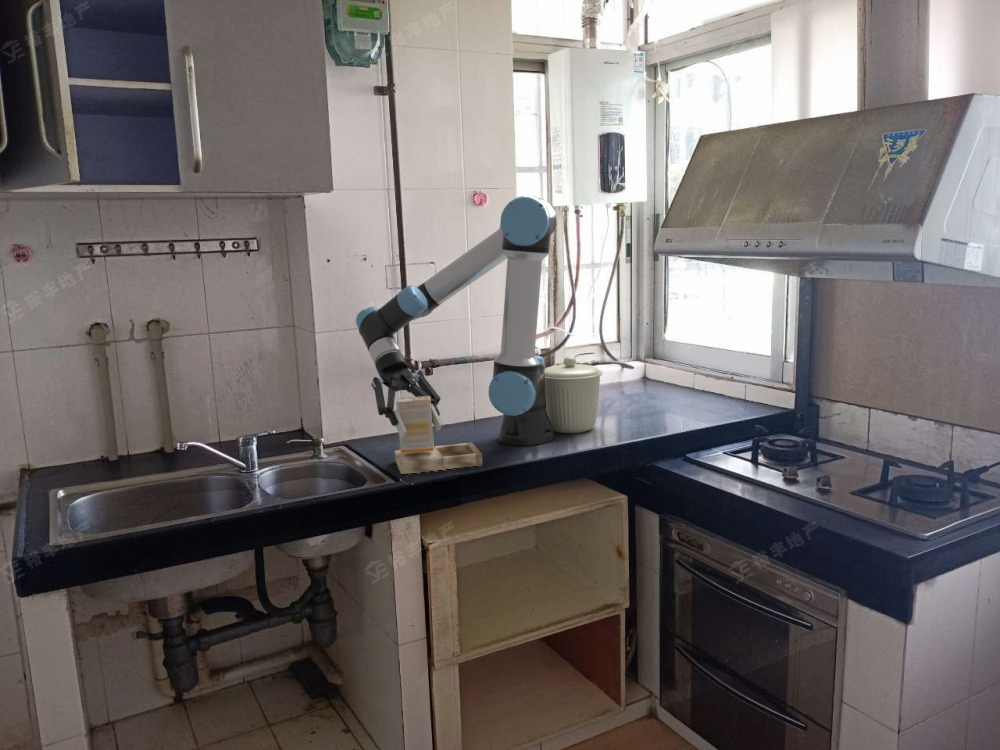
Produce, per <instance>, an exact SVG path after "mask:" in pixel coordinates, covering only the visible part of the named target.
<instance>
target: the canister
mask: <svg viewBox="0 0 1000 750" xmlns="http://www.w3.org/2000/svg"><path fill="white" fill-rule="evenodd" d="M602 375H603V371H602V370H601V369H599V368H598V367H596V366H593V365H590V364H589V365H588V364H580V363H579V364H578V363H577V359H576V357H574V356H571V355H569V356H566V357H564V359H563V364H557V365H552V366H547V367H545V392H546V411H547V414H548V417H549V420H550V422H551V425H552V428H553V432H557V433H561V434H578V433H585V432H588V431H591V430H592V429H593V428H594V426H595V425H596V422H597V417H598V408H599V407H598V406H599V395H600V394H599V393H600V383H601V376H602Z"/></svg>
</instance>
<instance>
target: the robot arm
mask: <svg viewBox="0 0 1000 750" xmlns="http://www.w3.org/2000/svg"><path fill="white" fill-rule="evenodd" d="M499 223H500V224H499V227H498V229H497V230H496V231H494V232H493V233H492V234H490V235H489V236H487V237H486V238H484V239H483V240H482V241H480V242H479V243H478V244H476V245H475V246H473V247H472V248H471V249H469V250H468V251H467V252H465V253H463V254H462V255H461V256H459V257H458V258H456V259H455V260H453V261H452V262H451V263H449V264H448V265H447V266H445V267H444V268H442V269H440V270H439V271H438V272H437V273H435V274H434V275H432V276H431V277H429V279H426V281H424V282H423V283H421V284H420V285H418V286H417V287H416V286H415V285H413V284H409V285H407V286H406V287H405V288H403V289H402V290H400V291H398V293H397V294H396V295H395V296H393V297H392V298H391V299H390V300H389V301H387V302H386V303H385V304H384V305H383V306H382V307H380V308H379V307H378V306H368V307H367V308H366V309H365V308H364V309H362V310H361V311H359V312H358V314H357V315H356V317H355V323H356V327H357V330H358V332H359V335H360V337H361V339H362V341H363V342H364V343H363V344H365V346H366V348H367V351H368V353H369V356H370V358H371V360H372V362H373V364H374V366H375V369H376V371H377V373H378V376H379V378H378V377H376V376H374V377H373V378H372V380H371V381H372V382H371V385H370V386H371V387H372V388H373V390H374V395H375V401H376V405H377V406H376V407H377V413H378V415H379V416H383V415H384V416H385V418H387V419H389V421H390V425H392V427H394V426H395V428H396V431H397V432H398V436H399V435H400V437H401V438H404V437H405V435H406V433H407V430H406V428H405V426H404V424H403V421H402V419H401V417H400V415H399V413H398V411H397V409H394V406H395V398H396V392H399V391H407V393H409V394H410V393H411V394H412V395H413V397H423V396H430V398H431V412H432V426H433V428H435V432H439V431H440V430H441V428H442V427H443V425H444V424H443V423H442V421H441V418H440V413H441V412H440V410H439V408H438V407H437V406H438V404H439V402H440V401H441V396H440V395H439V394H438V393H437V392H436V390H435V389H434V388H433V386H432V385H431V384H430V382H429V381H428V380H427V379H426V378H425V375H424V372H423V371H422V370H417V372H413V371H411V370H410V369H409V366H408V363H407V361H406V359H405V357H404V355H403V353H402V351H401V348H400V347H399V345H398V343H397V341H396V339H395V336H394V335H395V334H396V333H398V332H399V331H400V330H401V329H403V328H404V327H405V326H407V325H408V324H409V323H410V322H412V321H414V320H415V321H416V320H417V319H420V318H424V317H427V316H429V315H430V314H431V313H432V312H433V311H434V310H435V309H437V308H438V307H439V306H440V305H443V304H444V303H445V302H447V301H448V300H449V299H451V298H452V297H453V296H455V295H456V294H458V293H460V292H461V291H462V290H464V289H465V288H468V286H470V285H471V284H472V283H474V282H476V281H477V280H478V279H480V278H481V277H483V276H484V275H486V274H487V273H488V272H490V271H491V270H493V269H495V267H497V266H498V265H500V264H502V263H503V262H504V261H507V262H506V264H507V265H506V275H505V276H506V277H505V289H504V301H503V302H504V303H503V316H502V317H503V318H502V327H501V329H502V330H501V341H500V342H501V343H500V353H499V354H498V355H497V356H496V357H495V358H494V360H493V371H492V379H491V380H490V383H489V386H488V400H489V401H490V403H491V406H492V407H494V408H495V409H496V411H498V412H499V413H501V414H502V417H501V421H500V425H499V428H498V433H497V436H498V441H499V442H500V443H502V444H505V445H511V446H512V445H513V446H537V445H541V444H546V443H548V442H550V441H552V440H554V430H553V428H552V425H551V422H550V420H549V417H548V414H547V411H546V392H545V368H546V365H545V359H544V357H543V356H540V355H535V352H536V342H537V341H536V340H537V329H538V328H537V327H538V317H539V316H538V315H539V303H540V293H541V292H540V291H541V280H542V278H541V277H542V268H543V267H542V265H543V260H544V259H545V258H546V257H548V256H549V254H550V245H551V236H552V234H553V233H554V231H555V229H556V226H557V225H556V224H557V217H556V212H555V210H554V208H553V207H552V205H551V204H550V203H549V202H548V201H547V200H545V199H543V198H540V197H537V196H533V195H520V196H517V197H516V198H513V199H512V200H511V201H509V202H508V203H507V204H506V205H505V206H504V208H503V210H502V213H501V216H500V222H499ZM383 386H386V387H387V388H388V389H387V400H385V396H384V389H383ZM385 401H387V402H385Z"/></svg>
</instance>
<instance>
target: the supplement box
mask: <svg viewBox="0 0 1000 750" xmlns="http://www.w3.org/2000/svg"><path fill="white" fill-rule="evenodd" d="M396 410H397V411H398V413H399V415H400V417H401V419H402V421H403V424H404V426H405V428H406V430H407V433H406V435H405V437H404V438H401V437H400V435H399V434H398V439H399V450H400V451H401V453H409V452H426V451H433V449H434V446H435V443H434V441H435V439H434V425H433V423H432V412H431V398H430V396H423V397H415V396H411V397H409V396H407V397H406V396H405V397H398V398H397V399H396Z"/></svg>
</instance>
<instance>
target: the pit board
mask: <svg viewBox="0 0 1000 750" xmlns="http://www.w3.org/2000/svg"><path fill="white" fill-rule="evenodd" d="M394 462H396V463H395V465H396V464H397V465H396V467H397V466H398V467H397V469H399V470H398V472H399V471H400V472H399V474H400V473H401V474H407V473H408V475H410V474H409V473H417V474H422V473H421V472H425V473H430V472H429V471H434V472H439V471H438V470H443V471H447V470H446V469H452V468H460V467H469V466H478V465H483V453H481V451H480V450H479V449H478V448H477V447H476V446H475V445H474V443H473V442H463V443H455V444H453V443H452V444H446V445H434V449H433V451H426V452H409V453H401V451H400V449H398V450H394ZM478 467H479V466H478ZM452 470H453V469H452ZM401 474H400V475H401Z"/></svg>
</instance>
